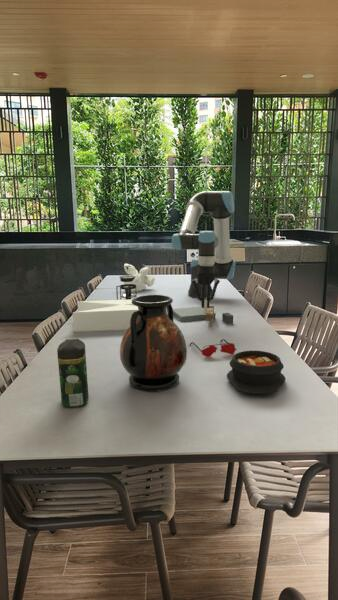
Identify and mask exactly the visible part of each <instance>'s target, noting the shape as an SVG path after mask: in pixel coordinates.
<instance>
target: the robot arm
mask: <svg viewBox="0 0 338 600" xmlns="http://www.w3.org/2000/svg"><path fill="white" fill-rule="evenodd" d="M234 212H235V200H234V195H233V193H232V192H231V191H230V190H210V191H209V190H207V191H205V190H204V191H199V192H197V193H196V194H194V195H193V196H192V197H191V198H190V199H189V200H188V202H187V203H186V206H185V214H184V216H183V220H182V223H181V226H180V229H179V232H178V233H174V234H173V235H172V237H171V247H172V249H173V250H180V251H181V250H185V251H186V250H190V251H191V250H194V251H195V250H197V251H198V253H197V254H198V257H196V258H192V259H191V260H190V285H189V289H188V292H187V296H189V297H190V298H197V300H198V301H201V306H202V308H204V315H206V314H207V308H209V306H210V301H213V300H214V299H215V295H216V292H217V289H218V288H217V287H218V286H219V283H220V282H221V280H232V279H233V278H234V274H235V269H236V261H237V260H236V259H235V258H233V255H232V254H231V243H230V238H231V237H230V218H231V217H232V216H233V214H234ZM203 214H210V218H211V219H212V220H213V230H201V231H199V233H196V229H197V226H198V223H199V220H200V217H201V216H202V215H203ZM212 283H213V287H212V285H211V284H212Z"/></svg>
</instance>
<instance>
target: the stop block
mask: <svg viewBox="0 0 338 600" xmlns="http://www.w3.org/2000/svg"><path fill="white" fill-rule="evenodd" d="M221 315H222V316H221V317H222V318H221V319H222V320H221V321H222V322H223V323H224V324H226V325H234V315H233V314H232V313H230V312H222V313H221Z"/></svg>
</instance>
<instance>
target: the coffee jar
mask: <svg viewBox="0 0 338 600" xmlns="http://www.w3.org/2000/svg"><path fill="white" fill-rule="evenodd" d="M56 352H57V363H58V376H59V385H60V386H59V388H60V398H61V400H60V401H61V405H62V406H63V407H67V408H71V409H72V408H79V407H82V406H85V405H87V403H88V401H89V385H88V384H89V383H88V371H87V368H88V367H87V356H86V344H85V343H84V342H83V341H82V340H81V339H80V338H72V339H71V338H70V339H69V338H68V339H67V338H66V339H64V341H62V342H61V343H60V344H59V345H58V347H57V350H56Z"/></svg>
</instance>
